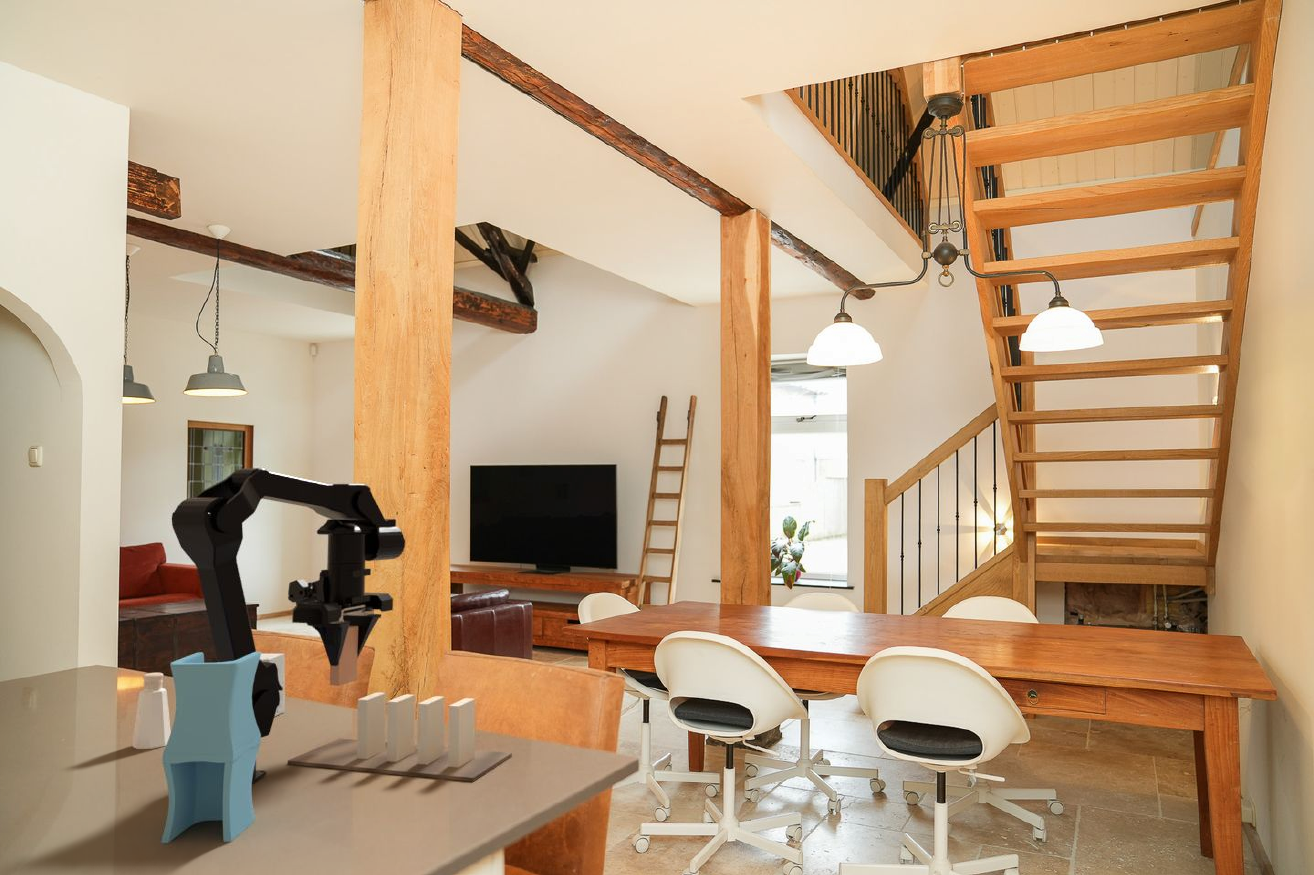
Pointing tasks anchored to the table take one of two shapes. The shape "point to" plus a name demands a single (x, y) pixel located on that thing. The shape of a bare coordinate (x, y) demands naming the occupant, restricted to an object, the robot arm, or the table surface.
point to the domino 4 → (461, 732)
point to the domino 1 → (371, 725)
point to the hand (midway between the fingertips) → (343, 662)
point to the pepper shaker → (152, 714)
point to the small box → (280, 663)
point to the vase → (212, 745)
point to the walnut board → (398, 762)
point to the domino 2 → (400, 727)
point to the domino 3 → (431, 730)
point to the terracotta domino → (346, 660)
